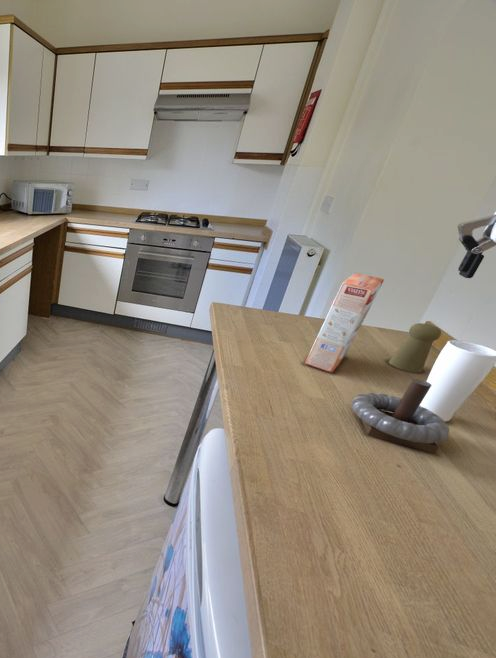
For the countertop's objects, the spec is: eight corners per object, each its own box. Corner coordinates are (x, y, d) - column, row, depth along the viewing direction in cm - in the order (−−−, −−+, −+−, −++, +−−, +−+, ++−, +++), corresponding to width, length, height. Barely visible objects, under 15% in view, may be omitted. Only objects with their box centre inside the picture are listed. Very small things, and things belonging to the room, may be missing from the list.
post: (417, 426, 77) (447, 379, 73) (434, 453, 70) (468, 403, 66) (357, 410, 81) (382, 364, 77) (367, 434, 74) (395, 385, 70)
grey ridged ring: (428, 417, 78) (437, 404, 76) (455, 457, 67) (465, 442, 66) (343, 395, 83) (350, 383, 82) (356, 429, 73) (364, 415, 72)
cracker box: (333, 374, 95) (376, 288, 85) (303, 364, 99) (340, 281, 89) (346, 357, 103) (386, 278, 94) (317, 349, 107) (353, 271, 98)
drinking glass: (400, 408, 83) (439, 342, 76) (418, 402, 85) (458, 337, 79) (443, 428, 77) (489, 358, 71) (461, 421, 80) (508, 353, 73)
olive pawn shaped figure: (387, 358, 104) (408, 318, 99) (419, 365, 101) (443, 325, 96) (390, 366, 100) (413, 325, 95) (424, 375, 97) (450, 333, 92)
